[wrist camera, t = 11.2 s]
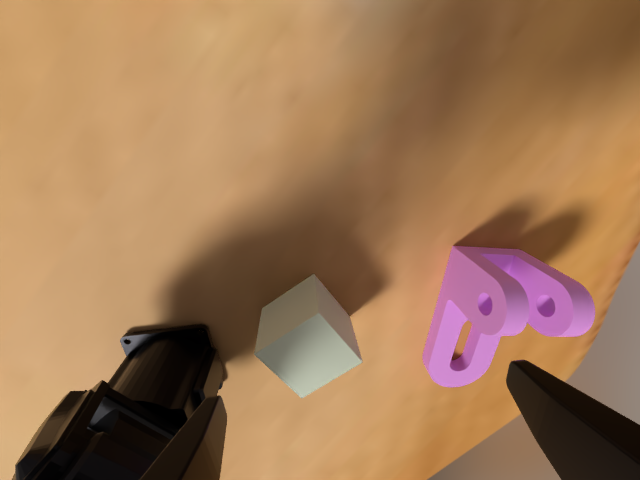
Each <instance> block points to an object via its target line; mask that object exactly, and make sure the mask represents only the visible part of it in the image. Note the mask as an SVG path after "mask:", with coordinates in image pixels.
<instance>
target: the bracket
mask: <svg viewBox="0 0 640 480" xmlns="http://www.w3.org/2000/svg"><path fill="white" fill-rule="evenodd" d="M594 318H595V307H594V303H593V300H592V297H591V295H590V294H589V292H588V291H587V290H586V288H585V287H584V286H583V285H581V284H580V283H579V282H577V281H575V280H574V279H572V278H570V277H568V276H566V275H565V274H563V273H561V272H559V271H558V270H556V269H554V268H552V267H551V266H549V265H547V264H545V263H543V262H542V261H540V260H538V259H536V258H535V257H533V256H531V255H529V254H528V253H526V252H524V251H522V250H520V249H505V248H486V247H467V246H452V249H451V253H450V257H449V260H448V264H447V268H446V271H445V275H444V279H443V282H442V286H441V289H440V293H439V297H438V300H437V304H436V308H435V311H434V315H433V319H432V322H431V326H430V330H429V333H428V337H427V341H426V344H425V348H424V352H423V363H424V365H425V367H426V369H427V371H428V373H429V375H430V376H431V378H432V379H433V381H434V382H436V383H437V384H439V385H441V386H445V387H460V386H464V385H467V384H469V383H472V382H474V381H475V380H477V379H478V378H480V377H481V376H482V375H483V374H484V373H485V372H486V371H487V369H488V368H489V366H490V364H491V361H492V359H493V356H494V353H495V351H496V348H497V346H498V343H499V340H500V338H501V336H513V335H517V334H519V333H520V332H521V331H522V330H523V329H524V328H525V326H526V324H527V323H528V324H529V325H530V326H532V327H533V328H534V329H535V330H536V331H538V332H539V333H541V334H543V335H546V336H555V337H576V336H580V335H582V334H584V333H586V332H587V331H588V330H589V329H590V327H591V326H592V324H593V321H594ZM467 320H469V321H470V322H471V323H472V327H471V330H470V333H469V336H468V339H467V342H466V345H465V348H464V351H463V353H462V355H461V356H460V357H459V358H458V359H456V360H451V359H452V356H453V353H454V350H455V346H456V343H457V340H458V337H459V334H460V331H461V328H462V325H463V324H464V323H465V322H466V321H467Z"/></svg>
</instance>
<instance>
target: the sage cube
mask: <svg viewBox="0 0 640 480" xmlns="http://www.w3.org/2000/svg"><path fill="white" fill-rule="evenodd" d="M254 355H255V356H256V357H257V358H259V359H260V360H261V361H262V362H263V363H264V364H265V365H266V366H267V367H268V368H269V369H270V370H272V371H273V372H274V373H275V374H276V375H277V376H278V377H279V378H280V379H281V380H282V381H283V382H285V383H286V384H287V385H288V386H289V387H290V388H291V389H292V390H293V391H294V392H295V393H296V394H298V395H299V396H300V397H301V398H303V397H305V396H307V395H308V394H310V393H312V392H313V391H315V390H317V389H318V388H320V387H322V386H324V385H325V384H327V383H329V382H330V381H332V380H334V379H335V378H337V377H339V376H340V375H342V374H344V373H345V372H347V371H349V370H350V369H352V368H354V367H356V366H357V365H359V364H361V363H362V358H361V355H360V351H359V347H358V344H357V340H356V337H355V333H354V330H353V326H352V323H351V319H350V316H349V315H348V314H347V313H346V311H345V310H344V309H343V308H342V307H341V305H340V304H339V303H338V302H337V301H336V299H335V298H334V297H333V296H332V295H331V293H330V292H329V291H328V290H327V289H326V287H325V286H324V285H323V284H322V283H321V281H320V280H319V279H318V278H317V277H316V275H315V274H312V275H311V276H309V277H308V278H306V279H305V280H303V281H302V282H300V283H299V284H297V285H296V286H295V287H293V288H292V289H290V290H289V291H287V292H286V293H284V294H283V295H281V296H280V297H278V298H277V299H275V300H274V301H272V302H271V303H269V304H268V305H266V306H265V307H263V308H262V311H261V317H260V323H259V329H258V335H257V340H256V346H255V352H254Z"/></svg>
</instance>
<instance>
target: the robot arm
mask: <svg viewBox="0 0 640 480" xmlns="http://www.w3.org/2000/svg"><path fill="white" fill-rule="evenodd" d="M199 330H202V331H203V332H200V331H199ZM127 339H129V340H130V341H129V340H127ZM120 342H121V345H122V347H123V349H124V352H125V354H126V356H127V357H126V358H125V360H124V361H123V362H122V364H121V365H120V367H119V368H118V369H117V371H116V372H115V374H114V375H113V377H112V378H111V379H110V381H109V382H108V383H106V382H105V381H103V380H102V381H100V382H99V383H98V384H97V385H96V386H95V387H94V388H92V389H90V390H89V391H87V390H85V391H70V392H69V393H68V394H67V395H66V396H65V397H64V398H63V399H62V400H61V401H60V403H59V404H58V405H57V406H56V407H55V409H54V410H53V411H52V412H51V413H50V415H49V416H48V417H47V418H46V420H45V421H44V422H43V423H42V425H41V426H40V427H39V429H38V430H37V432H36V433H35V435H34V436H33V438H32V439H31V441H30V443H29V444H28V446H27V447H26V449H25V450H24V452H23V454H22V455H21V457H20V458H19V460H18V462H17V463H16V465H15V474H14V476H13V478H12V480H219V479H220V472H221V464H222V456H223V449H224V441H225V433H226V425H227V413H226V410H225V407H224V403H223V400H222V398H221V396H219V395H218V396H217V393H218V390H219V389H221V388H222V385H223V379H222V375H223V369H222V365H221V362H220V358H219V354H218V351H217V349H216V348H215V347H213V343H212V339H211V336H210V332H209V329H208V327H207V326H206V325H203V324H199V325H191V326H183V327H174V328H166V329H157V330H149V331H141V332H132V333H126V334H125V335H124V336H123V337H122V338H121V340H120ZM506 383H507V387H508V389H509V391H510V393H511V395H512V396H513V398H514V400H515V402H516V404H517V406H518V408H519V410H520V412H521V413H522V415H523V417H524V419H525V421H526V423H527V424H528V426H529V428H530V430H531V432H532V434H533V436H534V437H535V439H536V441H537V442H538V444H539V446H540V447H541V449H542V450H543V452H544V453H545V455H546V457H547V458H548V460H549V461H550V463H551V464H552V466H553V467H554V469H555V471H556V472H557V474H558V475H559V477H560V478H561V480H640V425H639V424H637V423H635V422H633V421H632V420H630V419H628V418H626V417H625V416H623V415H621V414H620V413H618V412H616V411H614V410H613V409H611V408H609V407H607V406H606V405H604V404H602V403H600V402H598V401H597V400H595V399H593V398H591V397H590V396H588V395H586V394H585V393H583V392H581V391H579V390H577V389H576V388H574V387H572V386H571V385H569V384H567V383H565V382H564V381H562V380H560V379H558V378H557V377H555V376H553V375H551V374H550V373H548V372H546V371H544V370H543V369H541V368H539V367H537V366H536V365H534V364H532V363H530V362H528V361H526V360H516V361H511V363H510V364H509V369H508V374H507V378H506Z"/></svg>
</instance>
